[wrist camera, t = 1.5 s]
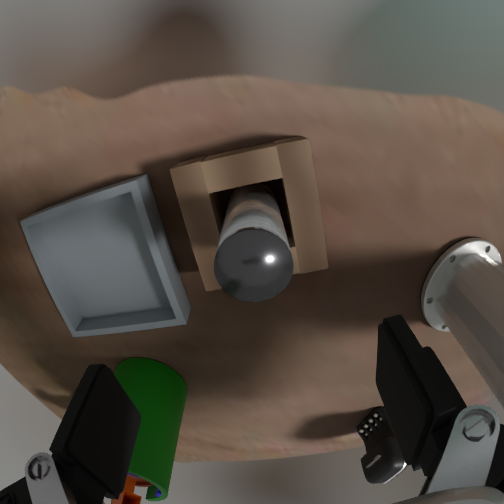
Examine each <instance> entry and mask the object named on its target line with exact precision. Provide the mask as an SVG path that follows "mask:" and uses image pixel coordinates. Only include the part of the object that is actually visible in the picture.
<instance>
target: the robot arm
mask: <svg viewBox="0 0 504 504" xmlns="http://www.w3.org/2000/svg"><path fill="white" fill-rule="evenodd" d="M421 309H422V313H423V315H424V317H425V319H426V320H427V322H428V323H429V324H430V325H431V327H433V328H435V329H436V330H439V331H443V332H450V331H451V333H452V334H453V335H454V337H455V338H456V340H457V341H458V342H459V344H460V345H461V346H462V348H463V349H464V351H465V352H466V354H467V355H468V356H469V358H470V359H471V361H472V362H473V364H474V365H475V366H476V368H477V369H478V371H479V372H480V374H481V375H482V377H483V378H484V380H485V381H486V383H487V384H488V386H489V388H490V389H491V391H492V392H493V394H494V395H495V397H496V398H497V400H498V402H499V403H500V405H501V406H502V408H503V410H504V265H503V264H502V260H501V257H500V253H499V252H498V250H497V249H496V247H495V246H493V245H492V244H491V243H490V242H488V241H487V240H485V239H482V238H468V239H464V240H462V241H460V242H458V243H456V244H454V245H453V246H452V247H450V248H449V249H448V250H447V251H445V252H444V253H443V254H442V255H441V256H440V258H439V259H438V260H437V261H436V263H435V264H434V265H433V267H432V269H431V270H430V272H429V273H428V276H427V278H426V280H425V282H424V286H423V289H422V294H421ZM376 385H377V388H378V391H379V393H380V396H381V398H382V401H383V404H384V406H385V409H386V411H387V414H388V417H389V419H390V422H391V425H392V427H393V430H394V433H395V435H396V438H397V441H398V444H399V447H400V449H401V452H402V455H403V458H404V461H405V463H406V465H412V467H413V470H414V471H416V470H418V469H421V468H422V470H423V473H424V475H425V476H427V478H426V480H425V483H424V485H423V487H422V489H421V491H420V493H419V495H418V496H417V497H414V498H411V499H407V500H404V501H400V502H396V503H393V504H504V425H503V424H500V420H499V417H498V415H497V414H496V412H495V411H494V410H493V409H491V408H490V407H488V406H485V405H472V406H468V407H467V406H466V404H465V402H464V401H463V399H462V397H461V395H460V394H459V392H458V390H457V389H456V387H455V385H454V384H453V382H452V380H451V379H450V377H449V375H448V374H447V372H446V370H445V369H444V367H443V366H442V364H441V362H440V361H439V359H438V358H437V356H436V354H435V353H434V351H433V350H432V349H431V348H430V347H428V346H427V347H424V348H422V346H421V345H420V343H419V342H418V340H417V338H416V337H415V335H414V334H413V332H412V331H411V329H410V327H409V326H408V324H407V323H406V321H405V320H404V318H403V317H402V315H400V314H399V315H396V316H392V317H388V318H385V319H384V320H383V324H379V326H378V348H377V367H376ZM140 424H141V414H140V412H139V411H138V409H137V408H136V406H135V405H134V404H133V402H132V401H131V399H130V398H129V396H128V395H127V393H126V392H125V391H124V389H123V388H122V386H121V385H120V383H119V381H118V380H117V378H116V377H115V375H114V374H113V372H112V371H111V369H110V368H107V366H106V365H104V364H95V365H89V366H88V368H87V370H86V371H85V373H84V375H83V377H82V379H81V381H80V383H79V386H78V388H77V390H76V392H75V394H74V396H73V398H72V400H71V402H70V404H69V406H68V408H67V411H66V413H65V415H64V417H63V419H62V422H61V424H60V426H59V428H58V430H57V433H56V435H55V437H54V440H53V442H52V444H51V447H50V449H49V450H50V451H51V452H52V456H50V455H49V454H48V453H45V452H44V453H38V454H35V455H34V456H32V457H31V458H30V459H29V460H28V462H27V464H26V467H25V477H24V478H22V479H20V480H18V481H17V482H15V483H13V484H12V485H10V486H8V487H6V488H4V489H3V490H1V491H0V504H105V503H104V502H103V499H104V496H105V497H106V498H110V499H117V500H119V495H120V493H122V492H123V490H124V486H125V482H126V478H127V474H128V470H129V466H130V462H131V458H132V454H133V450H134V446H135V442H136V438H137V435H138V431H139V427H140Z"/></svg>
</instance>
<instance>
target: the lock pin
mask: <svg viewBox="0 0 504 504" xmlns="http://www.w3.org/2000/svg"><path fill="white" fill-rule="evenodd" d="M293 268H294V264H293V258H292V254H291V251H290V247H289V243H288V240H287V236H286V232H285V229H284V225H283V221H282V218H281V214H280V211H279V207H278V203H277V200H276V197H275V195H274V193H273V192H272V191H271V190H270V189H269V188H268V187H266V186H264V185H262V184H259V183H254V184H249V185H245V186H240V187H239V188H237V189H236V190H235V191H234V192H233V194H232V196H231V198H230V201H229V204H228V208H227V212H226V216H225V220H224V224H223V228H222V231H221V235H220V239H219V243H218V247H217V251H216V255H215V259H214V274H215V277H216V280H217V282H218V284H219V285H220V286H221V288H222V289H223V290H224V291H225V292H226V293H228V294H229V295H230V296H232V297H234V298H236V299H239V300H242V301H246V302H261V301H266V300H269V299H271V298H273V297H275V296H277V295H278V294H280V293H281V292H282V291H283V290H284V289H285V288H286V287H287V285H288V284H289V282H290V280H291V278H292V275H293Z"/></svg>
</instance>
